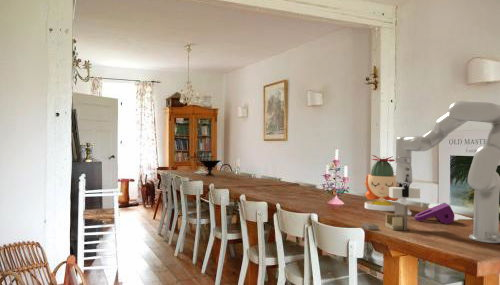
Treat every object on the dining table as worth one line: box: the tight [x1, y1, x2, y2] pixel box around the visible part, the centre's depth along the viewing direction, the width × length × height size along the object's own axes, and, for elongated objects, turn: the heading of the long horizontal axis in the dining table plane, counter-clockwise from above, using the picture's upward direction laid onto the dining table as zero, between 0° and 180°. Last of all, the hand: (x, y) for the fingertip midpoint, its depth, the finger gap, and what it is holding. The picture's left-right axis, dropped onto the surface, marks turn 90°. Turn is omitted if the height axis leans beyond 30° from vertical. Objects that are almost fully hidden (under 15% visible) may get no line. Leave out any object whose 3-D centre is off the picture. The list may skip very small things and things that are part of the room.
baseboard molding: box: [424, 207, 473, 222], centre depth 233 cm, size 31×3×12 cm
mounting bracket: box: [413, 202, 455, 224], centre depth 215 cm, size 10×9×19 cm
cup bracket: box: [384, 201, 409, 231], centre depth 194 cm, size 11×7×12 cm, turn 4°
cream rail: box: [389, 186, 421, 199], centre depth 200 cm, size 14×5×5 cm, turn 92°
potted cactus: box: [363, 154, 399, 212], centre depth 257 cm, size 22×22×35 cm
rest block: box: [361, 221, 379, 231], centre depth 194 cm, size 8×5×2 cm, turn 4°
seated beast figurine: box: [398, 198, 413, 216], centre depth 236 cm, size 10×9×12 cm
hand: (402, 195), depth 200 cm, fingers closed on cream rail, 5 cm apart
